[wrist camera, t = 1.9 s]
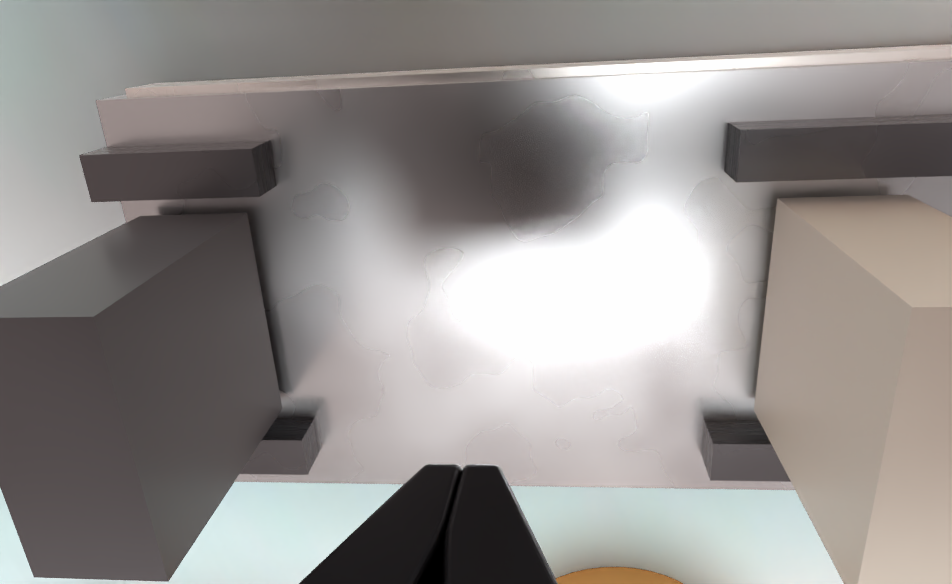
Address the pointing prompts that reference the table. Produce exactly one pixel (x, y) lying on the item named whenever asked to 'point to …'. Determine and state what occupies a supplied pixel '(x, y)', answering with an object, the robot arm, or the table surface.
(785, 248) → the beige cardboard box
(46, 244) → the table surface
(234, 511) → the table surface
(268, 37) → the table surface
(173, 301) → the toggle black
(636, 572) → the orange short rounded piece
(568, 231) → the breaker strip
